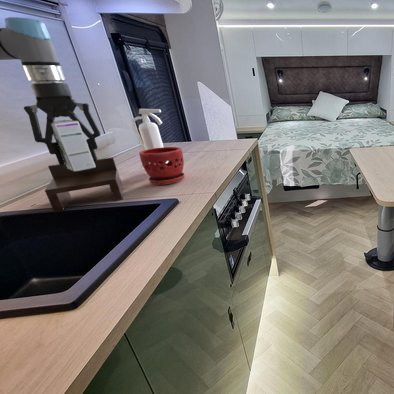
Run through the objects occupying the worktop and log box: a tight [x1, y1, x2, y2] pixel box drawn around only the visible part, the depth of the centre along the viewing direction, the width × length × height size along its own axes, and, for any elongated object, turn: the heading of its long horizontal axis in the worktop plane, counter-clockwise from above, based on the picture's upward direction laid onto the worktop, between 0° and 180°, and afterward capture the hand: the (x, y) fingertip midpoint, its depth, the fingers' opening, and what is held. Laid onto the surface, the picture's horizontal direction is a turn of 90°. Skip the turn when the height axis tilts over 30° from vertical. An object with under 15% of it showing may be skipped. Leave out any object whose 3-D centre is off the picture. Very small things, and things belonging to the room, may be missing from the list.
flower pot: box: [138, 146, 186, 186], centre depth 106 cm, size 13×13×12 cm
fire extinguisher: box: [131, 108, 169, 172], centre depth 116 cm, size 7×12×25 cm, turn 106°
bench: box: [44, 157, 124, 214], centre depth 91 cm, size 16×14×11 cm
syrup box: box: [51, 119, 96, 171], centre depth 88 cm, size 6×6×14 cm
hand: (79, 161), depth 90 cm, fingers closed on syrup box, 7 cm apart
